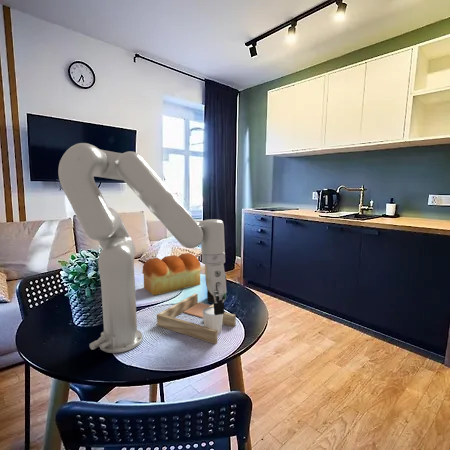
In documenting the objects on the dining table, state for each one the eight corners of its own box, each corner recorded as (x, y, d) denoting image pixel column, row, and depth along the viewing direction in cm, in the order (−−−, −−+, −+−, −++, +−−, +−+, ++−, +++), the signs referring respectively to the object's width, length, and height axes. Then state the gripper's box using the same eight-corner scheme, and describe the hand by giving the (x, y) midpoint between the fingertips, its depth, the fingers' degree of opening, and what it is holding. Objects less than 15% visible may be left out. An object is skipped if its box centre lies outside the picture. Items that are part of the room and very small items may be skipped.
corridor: (215, 344, 86) (215, 331, 86) (157, 325, 98) (156, 314, 97) (247, 315, 106) (247, 305, 105) (195, 302, 118) (195, 293, 117)
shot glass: (223, 336, 91) (223, 315, 90) (201, 335, 91) (201, 315, 90) (223, 325, 98) (223, 306, 97) (203, 325, 98) (203, 306, 97)
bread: (189, 278, 150) (188, 250, 148) (201, 284, 140) (201, 255, 138) (142, 288, 135) (141, 257, 133) (153, 296, 125) (151, 263, 123)
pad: (205, 318, 103) (205, 317, 103) (183, 312, 108) (183, 311, 108) (219, 308, 112) (219, 307, 112) (198, 303, 117) (198, 302, 117)
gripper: (232, 263, 84) (234, 317, 87) (218, 250, 101) (220, 296, 103) (207, 266, 82) (210, 321, 85) (197, 253, 99) (199, 299, 101)
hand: (215, 307), depth 94 cm, fingers open, 9 cm apart
